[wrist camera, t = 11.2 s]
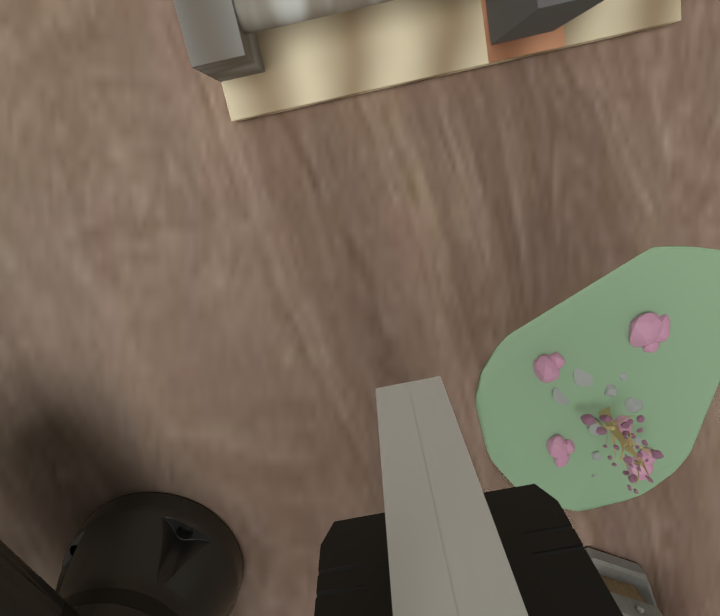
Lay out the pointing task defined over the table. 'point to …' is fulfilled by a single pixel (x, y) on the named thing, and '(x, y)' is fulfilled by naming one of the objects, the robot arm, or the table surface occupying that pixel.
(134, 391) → the table surface
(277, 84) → the grey sliding block rail
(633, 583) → the tankard
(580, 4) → the collar
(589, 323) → the plant
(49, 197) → the table surface
